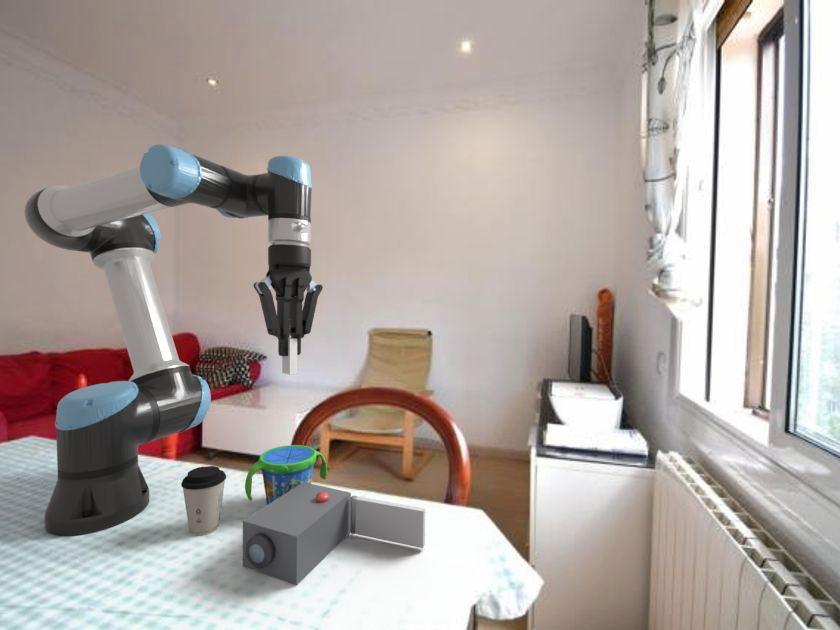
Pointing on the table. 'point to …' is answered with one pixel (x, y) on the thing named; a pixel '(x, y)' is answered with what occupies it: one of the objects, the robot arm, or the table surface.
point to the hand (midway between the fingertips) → (289, 373)
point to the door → (388, 521)
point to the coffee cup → (203, 499)
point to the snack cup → (285, 469)
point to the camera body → (296, 531)
